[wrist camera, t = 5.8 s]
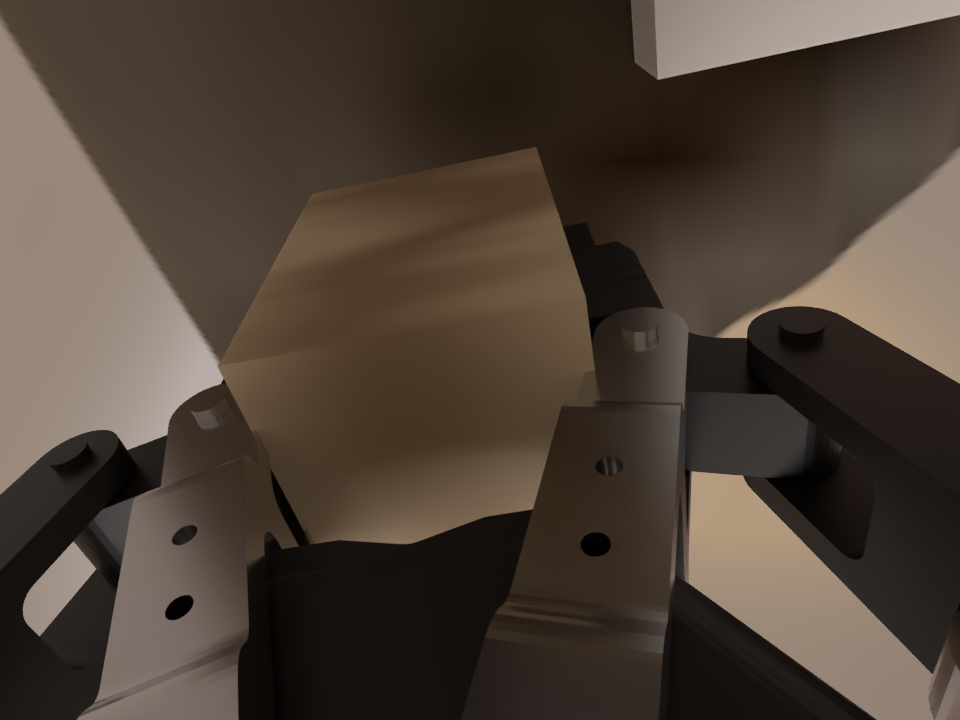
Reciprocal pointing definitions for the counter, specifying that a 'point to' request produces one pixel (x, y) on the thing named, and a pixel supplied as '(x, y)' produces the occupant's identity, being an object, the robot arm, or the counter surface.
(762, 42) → the white base board
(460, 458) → the maple block
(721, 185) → the counter surface
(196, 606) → the robot arm
